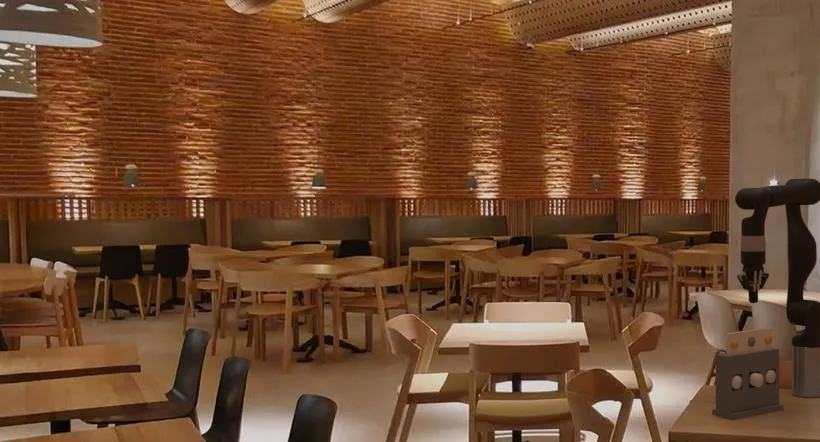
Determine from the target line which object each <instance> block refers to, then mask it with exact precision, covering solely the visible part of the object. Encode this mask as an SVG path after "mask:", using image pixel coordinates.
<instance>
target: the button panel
mask: <svg viewBox="0 0 820 442" xmlns="http://www.w3.org/2000/svg"><path fill="white" fill-rule="evenodd" d="M714 358H715V408H714V409H711V415H713V416H716V417H719V418H720V417H721V418H723V419H726V420H727V419H728V420H732V421H733V420H738V419H742V418H743V419H744V418H747V417H753V416H758V415H762V414H768V413H772V412H778V411H782V410H784V404H781V403H780V348H774V347H773V349H771V350H765V351H758V352H751V353H745V354H738V355H731V356H727V353H724V352H723V353H716V354H715V357H714ZM767 369H769V370H773V371H774V372H775V374H776V378H775V381H774V382H773V383H768V382H766V370H767ZM750 372H753V373H758V374H761V375H762V376H763V379H764V381H763V384H762V386H760V387H756V386H751V385H749V373H750ZM732 375H737V376H740V377H741V379H742V385H741V387H740V388H739V389H734V388H732Z"/></svg>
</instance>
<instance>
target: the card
mask: <svg viewBox="0 0 820 442" xmlns="http://www.w3.org/2000/svg"><path fill="white" fill-rule="evenodd" d="M773 348H774V328H773V327H767V328H766V327H764V328H759V329H758V328H757V329H750V330H742V331H735V332H734V331H733V332H727V333H726V352H727V356H731V355H738V354H745V353H751V352H758V351H765V350H771V349H773Z"/></svg>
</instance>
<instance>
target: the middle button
mask: <svg viewBox="0 0 820 442" xmlns="http://www.w3.org/2000/svg"><path fill="white" fill-rule="evenodd" d="M763 381H764V379H763V376H762V375H761V374H758V373H753V372H750V373H749V385H751V386H756V387H760V386H762V384H763Z"/></svg>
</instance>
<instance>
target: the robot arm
mask: <svg viewBox="0 0 820 442" xmlns="http://www.w3.org/2000/svg"><path fill="white" fill-rule="evenodd" d="M734 201H735V204H736V206H737V208H739V209H741V210H748V211H749V210H750V211H751V210H752V211H753V213H752V215H751V216H747V217H744V218H742V220H741V223H740V224H741V225H740V227H741V228H740V229H741V234H740V235H741V237H740V239H741V240H740V264H742V265H743V266H742V269H741V270H742V272H741V273H740V274H737V276H736V278H737V279H738V282H739V283H740V285H741V287H742V289H743V290H746V291H747V293H748V302H749V304H757V303H758V301H759V291H760V290H762V289H763V288H764V287H765V284H766V283H767V281H768V279H769V277H770V273H767V272H765V268H764V265H766V262H767V261H766V257H767V255H766V252H767V251H766V249H767V248H766V244H767V243H766V237H765V236H766V235H765V226H766V219H767V215H768V211H769V209H770V208H775V207H780V206H784V207H785V214H786V215H785V216H786V225H787V226H786V228H787V275H788V276H787V277H788V279H787V292H786V293H787V294H786V307H785V309H786V310H785V311H786V313H785V314H786V318H787V320H788V322H789V323H790V324H791V325H794V326H802V327H804V332H803V333H801V334H798V335H797V334H796V335H794V336H792V338H791V394H792V395H793V396H795V397H801V398H820V301H817V300H813V299H804V289H805V285H806V282H807V280H808V278H809V277H810V275H811V274H812V272H813V270H814V269H815V268H816V267H815V266H816V264H817V261H818V258H817V257H818V256H817V255H818V254H817V252H818V251H817V248H818V247H817V242H816V240H815V238H814V235H813V234H812V233H811V231H810V230H809V228H808V226H807V225H806V223H805V221H804V219H803V216H802V209H801V207H802V206H812V205H816V204H818V203H819V202H820V181H819V180H817V179H815V178H791V179H788V180H787V181H786V182H785V184H780V185H779V184H777V185H767V186H762V187H745V188H741V189H740V190H738V191H737V192H736V194H735V198H734Z"/></svg>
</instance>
